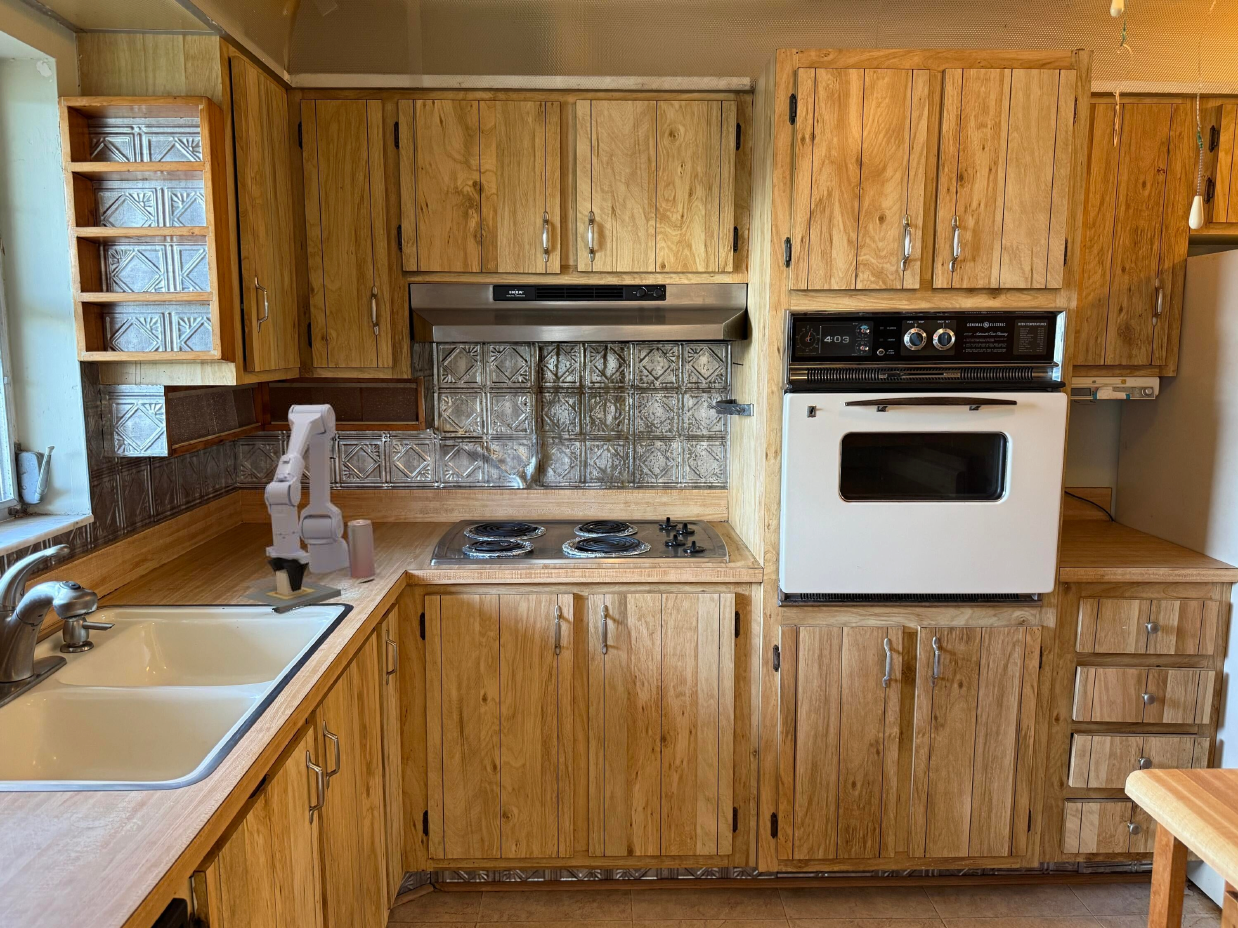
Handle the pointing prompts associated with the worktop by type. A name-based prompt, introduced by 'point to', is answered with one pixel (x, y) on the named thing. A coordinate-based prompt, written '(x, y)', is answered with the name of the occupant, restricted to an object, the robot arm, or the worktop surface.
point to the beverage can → (361, 549)
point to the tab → (263, 583)
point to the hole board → (295, 596)
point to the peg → (285, 584)
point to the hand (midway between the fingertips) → (290, 588)
